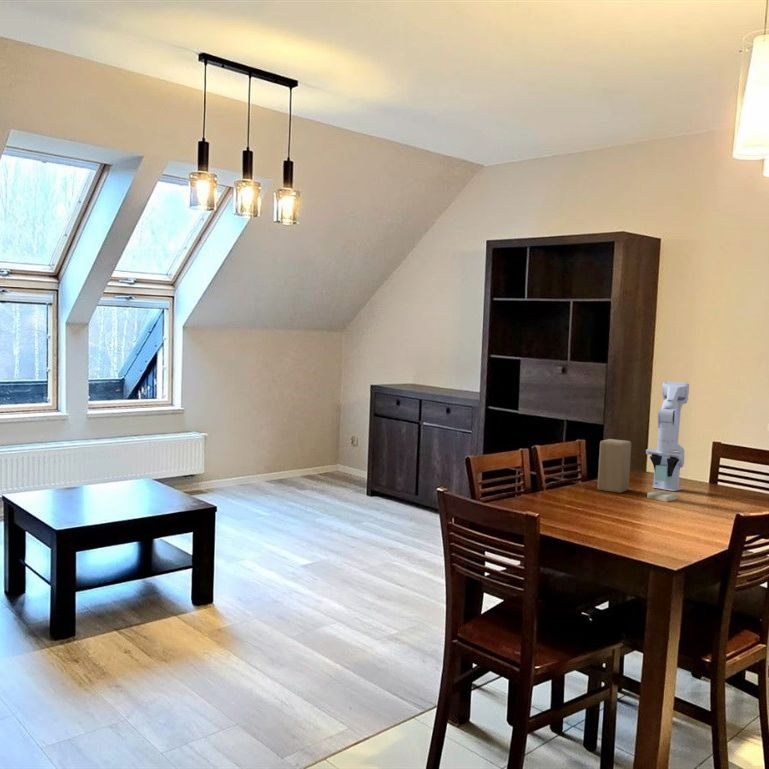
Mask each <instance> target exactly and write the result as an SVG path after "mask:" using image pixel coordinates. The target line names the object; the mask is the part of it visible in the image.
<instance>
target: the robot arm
mask: <svg viewBox="0 0 769 769" xmlns="http://www.w3.org/2000/svg"><path fill="white" fill-rule="evenodd" d="M661 388H662V389H661V395H662V399H663V401H662V405H661V408H660V409H658V411H657V418H656V419H657V428H658V430H657V431H658V432H657V444H656V445H657V446H656V449H652V448H651V449H650V448H647V449H645V454H646V455H650V456H649V459H650V461H651V463H652V465H653V470H654V472H653V484H652V488H655V489H659V490H665V491H668V492H669V491H670V492H676V491H681V490H683V489H684V488H683V487H680V471H681V470H680V469H681V468H684V466H685V450H684V449H685V448H684V447H682V445H680V444H679V436H680V435H679V433H680V425H681V424H680V422H681V412H682V407H683V405H684V404H685V405H686V404H687V403H688V401H689V394H690V383H688V382H680V381H679V382H678V381H666V380H665V381H664V382H663V383H662V387H661ZM661 464H662V465H668V477H671V476H672V480H671V481H660V480H655V470H656V465H661Z"/></svg>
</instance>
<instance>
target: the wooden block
mask: <svg viewBox="0 0 769 769" xmlns="http://www.w3.org/2000/svg"><path fill="white" fill-rule="evenodd" d="M631 452H632V442H631V441H630V440H623V439H613V438H608V439H604V440H600V442H599V454H598V472H597V490H598V491H602V490H603V492H609V491H610V492H611V493H615V494H616V493H617V494H622V493H624V492H626V491H629V487H630V474H631V458H632V457H631V455H632V453H631ZM610 492H609V493H610Z"/></svg>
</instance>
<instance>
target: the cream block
mask: <svg viewBox="0 0 769 769" xmlns="http://www.w3.org/2000/svg"><path fill="white" fill-rule="evenodd" d="M646 498H647V499H652V500H657V501H662V502H671V501H675V500H676V501H677V499H678V494H677V493H674V492H669V491H668V492H667V491H662V490H654V491H650V492H647V497H646Z"/></svg>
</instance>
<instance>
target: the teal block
mask: <svg viewBox="0 0 769 769" xmlns="http://www.w3.org/2000/svg"><path fill="white" fill-rule="evenodd" d="M654 471H655V480H660V481H671V480H672V476H671V477H668V465H662V464H661V465H656V470H654Z"/></svg>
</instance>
